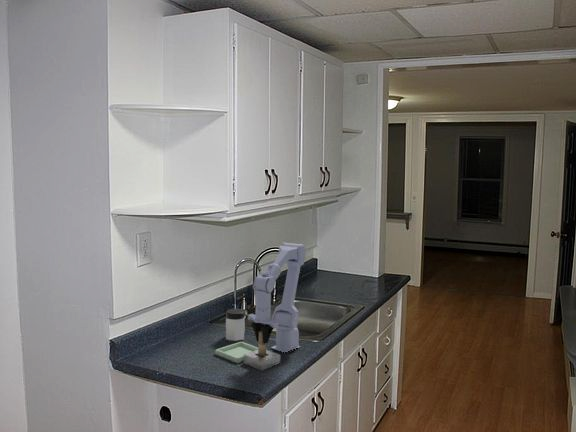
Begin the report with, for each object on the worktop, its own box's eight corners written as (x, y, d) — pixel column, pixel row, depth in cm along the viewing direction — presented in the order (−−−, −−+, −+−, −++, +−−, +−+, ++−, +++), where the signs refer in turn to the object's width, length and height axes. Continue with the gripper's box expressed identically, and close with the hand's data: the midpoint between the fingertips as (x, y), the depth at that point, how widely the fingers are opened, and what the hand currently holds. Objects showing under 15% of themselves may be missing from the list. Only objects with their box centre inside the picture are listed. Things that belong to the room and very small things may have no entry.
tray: (241, 346, 235) (241, 341, 235) (263, 354, 226) (263, 349, 226) (215, 354, 225) (215, 349, 224) (237, 363, 216) (237, 358, 216)
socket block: (262, 356, 224) (262, 348, 223) (280, 363, 217) (280, 354, 216) (243, 363, 216) (243, 354, 216) (261, 370, 210) (261, 361, 209)
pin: (262, 352, 218) (262, 329, 217) (267, 354, 216) (268, 331, 215) (256, 354, 216) (257, 331, 215) (262, 356, 214) (262, 333, 213)
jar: (244, 341, 241) (244, 314, 239) (225, 341, 240) (225, 314, 239) (244, 334, 250) (245, 308, 248) (226, 334, 249) (226, 308, 248)
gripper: (242, 305, 216) (241, 339, 218) (269, 313, 206) (268, 349, 208) (255, 301, 221) (255, 335, 223) (282, 309, 211) (281, 344, 213)
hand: (262, 341), depth 216 cm, fingers closed on pin, 3 cm apart
